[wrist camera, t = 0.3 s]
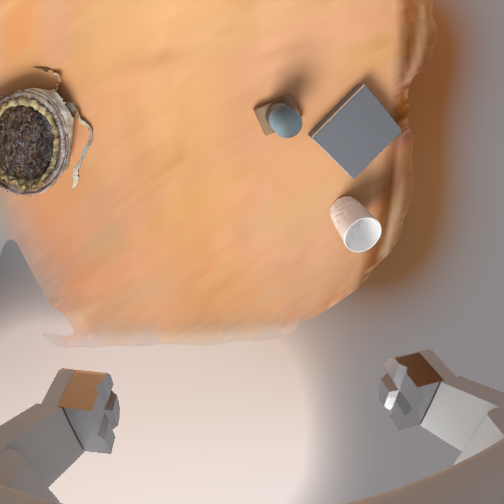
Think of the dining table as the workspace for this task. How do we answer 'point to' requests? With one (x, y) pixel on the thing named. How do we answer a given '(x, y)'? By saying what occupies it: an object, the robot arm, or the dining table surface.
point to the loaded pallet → (263, 108)
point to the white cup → (355, 224)
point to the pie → (36, 139)
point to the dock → (355, 130)
